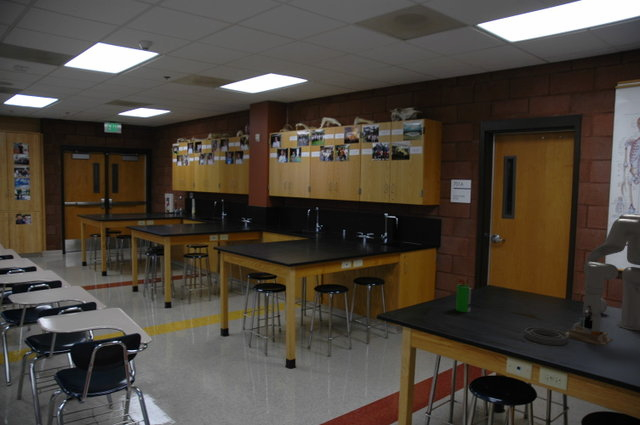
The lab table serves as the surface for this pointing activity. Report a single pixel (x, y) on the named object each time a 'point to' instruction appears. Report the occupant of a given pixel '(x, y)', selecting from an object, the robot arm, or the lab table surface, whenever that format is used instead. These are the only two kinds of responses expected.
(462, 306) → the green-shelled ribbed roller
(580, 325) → the gate
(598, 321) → the skincare box
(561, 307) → the lab table surface
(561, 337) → the mechanical component
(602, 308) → the eye model
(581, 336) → the rest
